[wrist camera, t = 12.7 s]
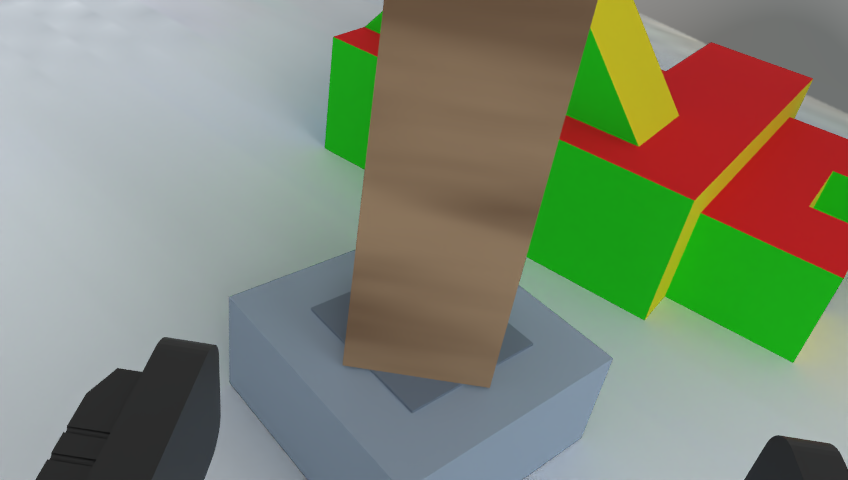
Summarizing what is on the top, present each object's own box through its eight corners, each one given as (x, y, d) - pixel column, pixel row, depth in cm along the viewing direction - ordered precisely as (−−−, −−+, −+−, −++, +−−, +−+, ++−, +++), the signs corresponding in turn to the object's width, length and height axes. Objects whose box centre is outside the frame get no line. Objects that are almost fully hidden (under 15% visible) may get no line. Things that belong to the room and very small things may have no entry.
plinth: (420, 296, 33) (434, 217, 30) (581, 437, 28) (614, 356, 25) (229, 382, 27) (229, 294, 25) (385, 576, 22) (403, 489, 20)
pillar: (362, 273, 27) (407, -88, 20) (489, 293, 27) (578, -59, 20) (342, 365, 23) (388, -39, 16) (489, 388, 23) (598, -4, 16)
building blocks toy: (774, 397, 31) (1054, -68, 21) (324, 152, 42) (354, -239, 31) (866, 220, 44) (1065, -119, 34) (505, 68, 55) (570, -227, 44)
